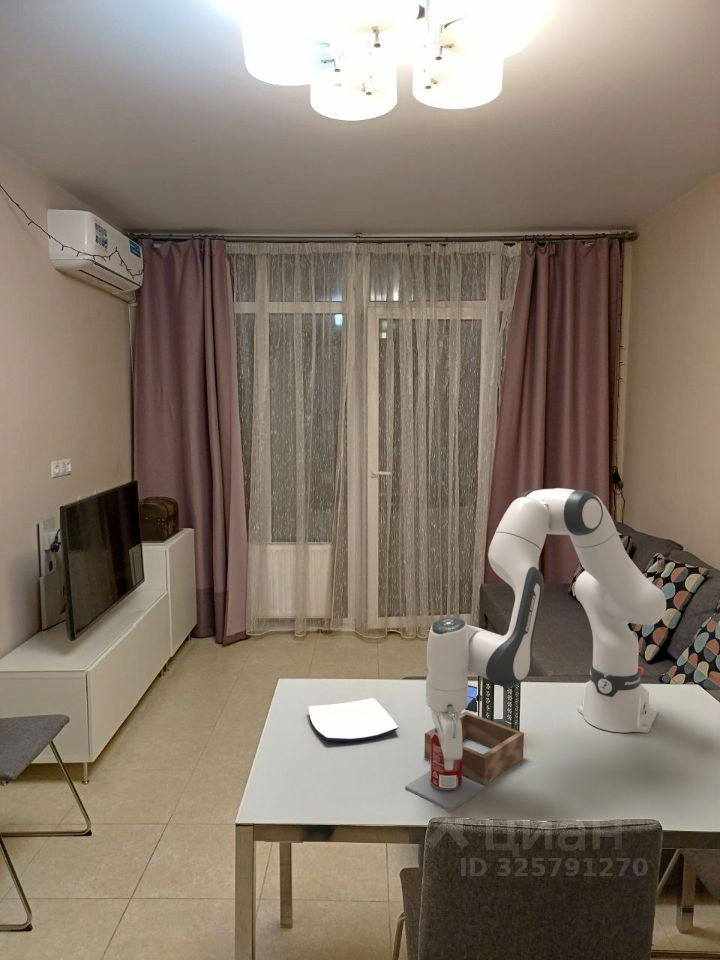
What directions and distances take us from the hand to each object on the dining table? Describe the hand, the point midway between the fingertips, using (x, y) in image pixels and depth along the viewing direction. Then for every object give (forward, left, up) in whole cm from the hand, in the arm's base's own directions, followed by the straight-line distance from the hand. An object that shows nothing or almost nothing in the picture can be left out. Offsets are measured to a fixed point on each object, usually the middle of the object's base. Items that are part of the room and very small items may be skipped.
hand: (445, 758), depth 146 cm
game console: (-41, -24, -8) cm, 49 cm away
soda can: (0, 0, -6) cm, 6 cm away
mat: (0, 0, -7) cm, 7 cm away
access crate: (-15, -3, -7) cm, 17 cm away
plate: (-7, -35, -7) cm, 37 cm away
